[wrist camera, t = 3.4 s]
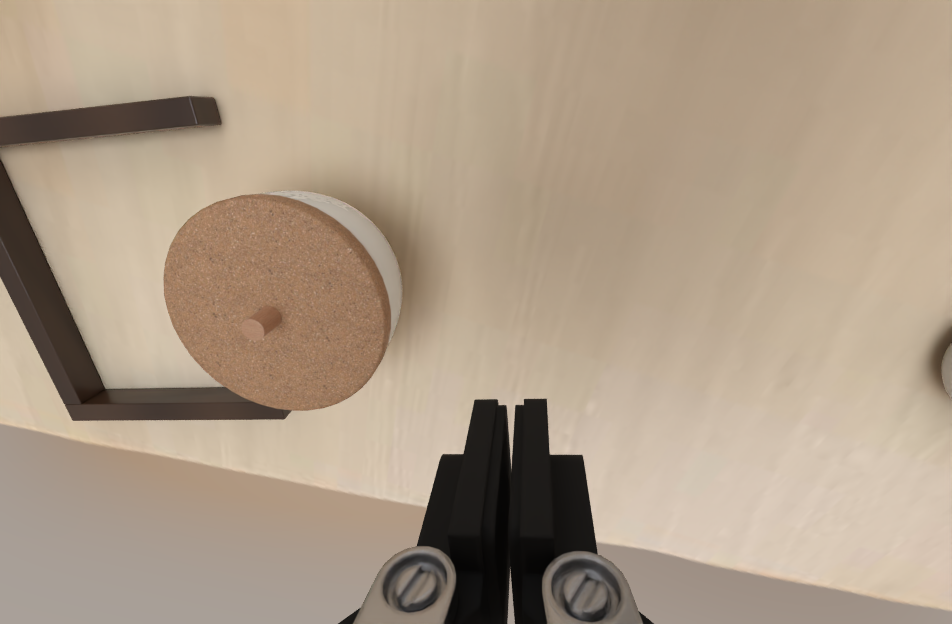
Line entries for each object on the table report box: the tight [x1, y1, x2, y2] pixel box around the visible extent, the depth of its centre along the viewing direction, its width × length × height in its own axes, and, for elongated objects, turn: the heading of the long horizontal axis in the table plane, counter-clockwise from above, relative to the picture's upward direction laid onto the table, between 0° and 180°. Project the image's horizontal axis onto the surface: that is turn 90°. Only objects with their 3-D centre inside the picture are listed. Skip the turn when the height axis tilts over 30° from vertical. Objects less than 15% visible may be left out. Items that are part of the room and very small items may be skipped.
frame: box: [0, 96, 292, 421], centre depth 29 cm, size 16×20×2 cm
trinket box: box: [164, 190, 402, 410], centre depth 24 cm, size 11×11×9 cm
